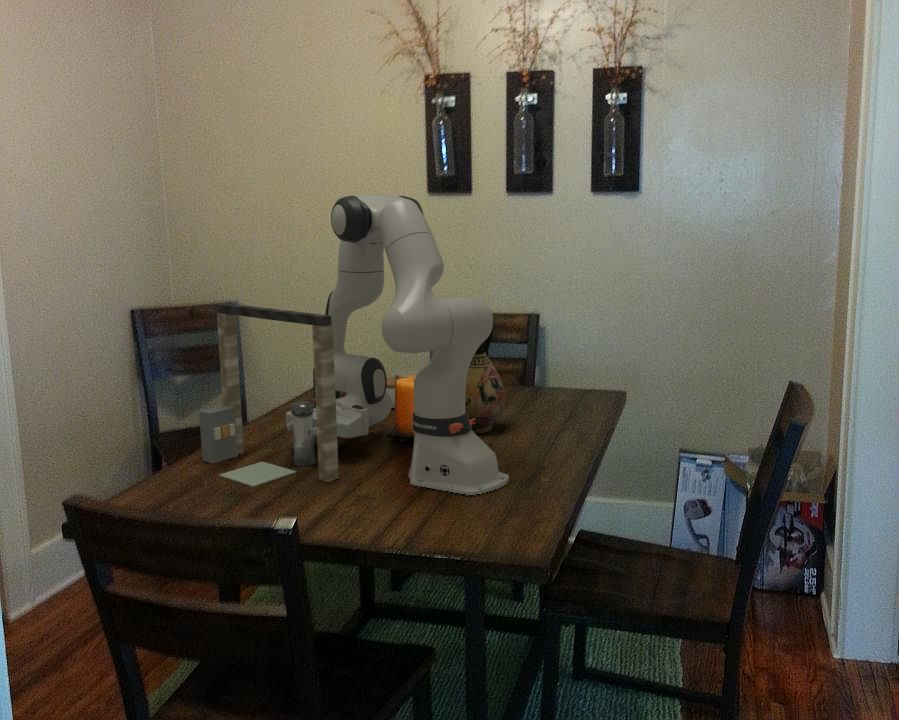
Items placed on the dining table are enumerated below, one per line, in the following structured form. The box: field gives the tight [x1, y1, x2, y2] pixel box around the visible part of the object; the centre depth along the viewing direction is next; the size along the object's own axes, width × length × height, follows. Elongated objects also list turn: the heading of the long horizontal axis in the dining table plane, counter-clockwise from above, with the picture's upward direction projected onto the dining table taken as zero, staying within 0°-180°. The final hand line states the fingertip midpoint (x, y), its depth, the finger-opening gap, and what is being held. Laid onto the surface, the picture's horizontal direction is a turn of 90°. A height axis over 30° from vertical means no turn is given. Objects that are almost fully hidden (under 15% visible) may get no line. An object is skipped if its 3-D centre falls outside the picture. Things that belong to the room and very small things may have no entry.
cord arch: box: [216, 302, 340, 483], centre depth 200 cm, size 36×3×36 cm, turn 50°
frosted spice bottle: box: [290, 400, 316, 467], centre depth 204 cm, size 5×5×14 cm
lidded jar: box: [386, 374, 409, 408], centre depth 255 cm, size 11×11×9 cm
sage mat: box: [218, 461, 297, 488], centre depth 197 cm, size 12×12×1 cm
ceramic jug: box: [465, 319, 506, 434], centre depth 229 cm, size 17×15×30 cm
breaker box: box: [198, 404, 239, 464], centre depth 208 cm, size 5×7×12 cm
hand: (300, 430), depth 203 cm, fingers open, 6 cm apart
